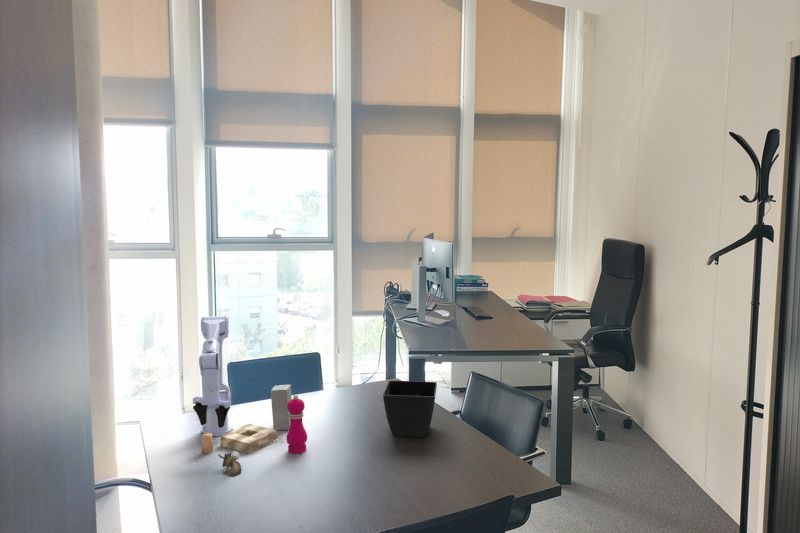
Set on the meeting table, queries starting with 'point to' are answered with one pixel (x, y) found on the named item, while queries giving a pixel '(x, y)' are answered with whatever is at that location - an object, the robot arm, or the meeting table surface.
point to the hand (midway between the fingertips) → (212, 425)
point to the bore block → (248, 438)
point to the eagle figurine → (231, 463)
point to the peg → (207, 443)
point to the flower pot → (409, 407)
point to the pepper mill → (296, 426)
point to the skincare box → (281, 406)
